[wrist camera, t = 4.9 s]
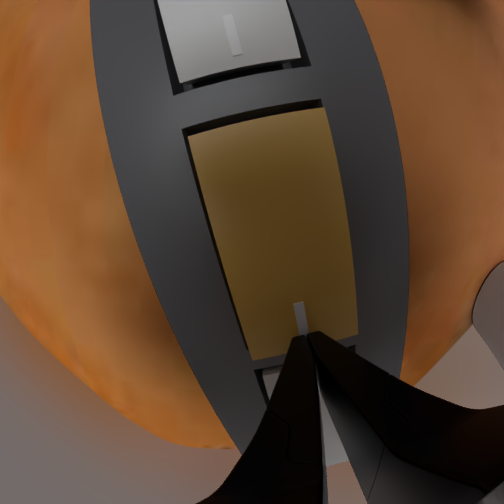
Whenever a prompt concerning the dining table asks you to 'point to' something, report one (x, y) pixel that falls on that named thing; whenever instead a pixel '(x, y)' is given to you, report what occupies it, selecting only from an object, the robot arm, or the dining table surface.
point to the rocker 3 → (331, 438)
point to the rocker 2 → (280, 227)
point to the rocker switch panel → (192, 201)
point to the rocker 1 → (227, 36)
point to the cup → (491, 312)
